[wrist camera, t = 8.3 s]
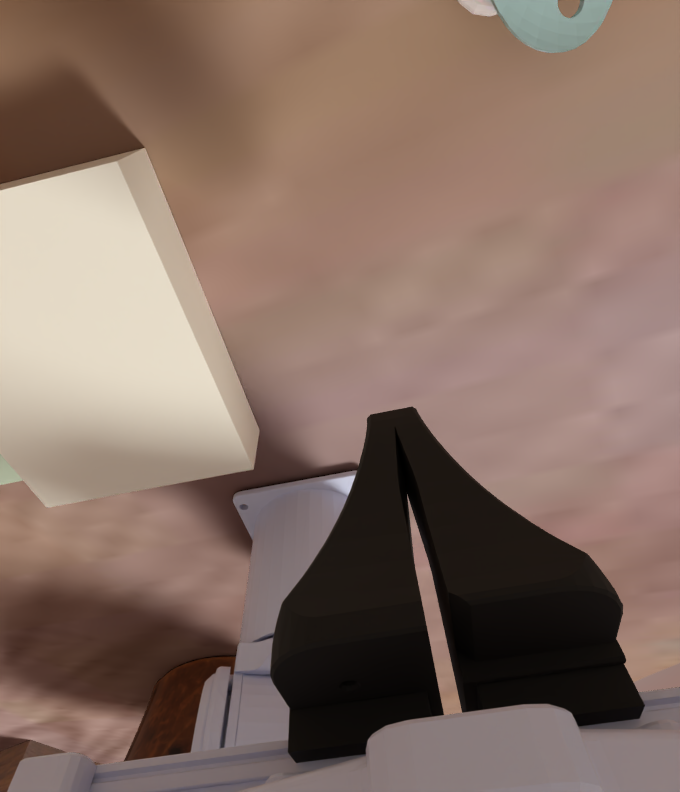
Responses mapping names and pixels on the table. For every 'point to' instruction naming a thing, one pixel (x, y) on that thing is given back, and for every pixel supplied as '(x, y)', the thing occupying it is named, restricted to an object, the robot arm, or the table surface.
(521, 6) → the pacifier
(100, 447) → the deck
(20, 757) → the tissue box cover
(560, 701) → the robot arm
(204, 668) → the brown tapered round container
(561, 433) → the table surface
